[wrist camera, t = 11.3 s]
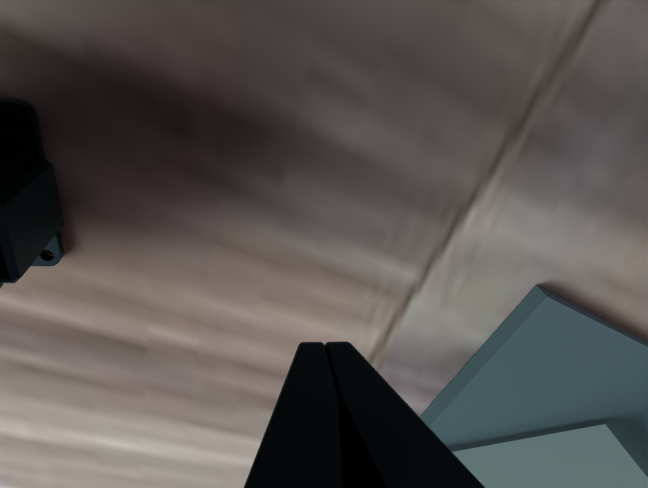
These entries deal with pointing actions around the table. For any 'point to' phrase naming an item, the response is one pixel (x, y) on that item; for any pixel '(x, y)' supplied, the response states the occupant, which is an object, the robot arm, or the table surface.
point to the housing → (548, 381)
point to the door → (556, 462)
